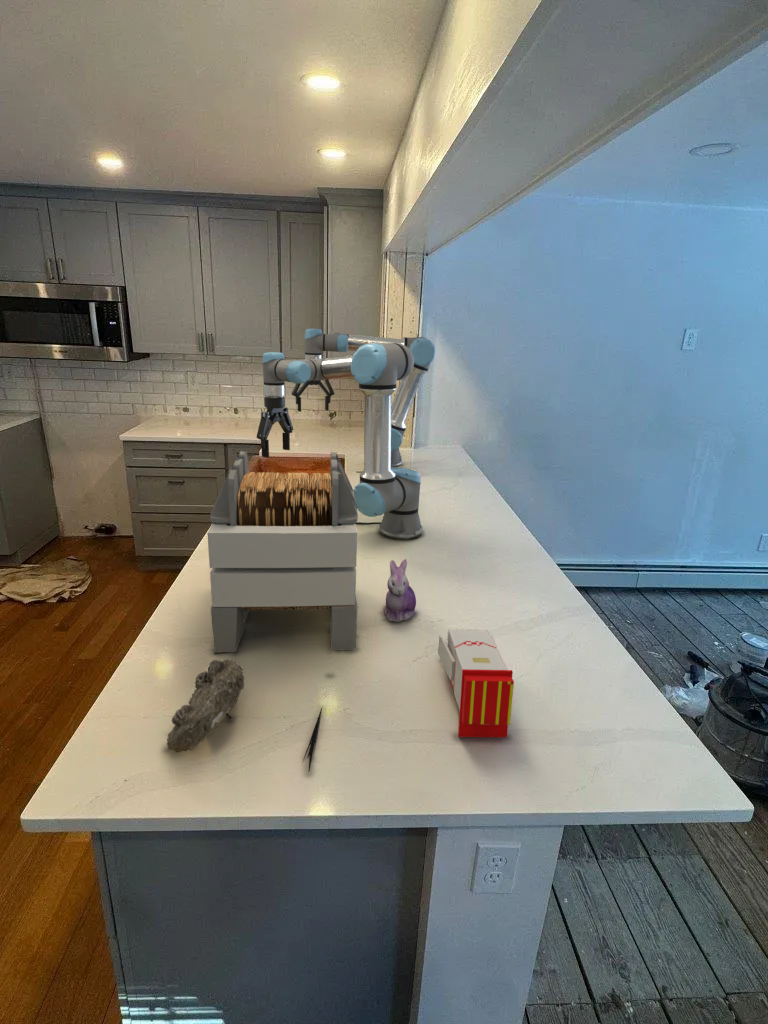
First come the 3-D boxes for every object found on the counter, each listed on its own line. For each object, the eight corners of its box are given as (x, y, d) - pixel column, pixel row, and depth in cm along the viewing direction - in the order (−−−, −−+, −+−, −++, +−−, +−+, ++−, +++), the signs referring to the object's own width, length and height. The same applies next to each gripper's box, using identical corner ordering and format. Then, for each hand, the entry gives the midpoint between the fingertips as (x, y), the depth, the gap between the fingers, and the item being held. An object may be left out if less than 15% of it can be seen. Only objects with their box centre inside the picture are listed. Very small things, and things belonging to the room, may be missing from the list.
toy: (488, 613, 130) (523, 677, 101) (484, 667, 133) (517, 744, 104) (435, 612, 130) (455, 676, 101) (432, 666, 133) (451, 743, 103)
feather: (331, 679, 122) (336, 673, 122) (307, 777, 96) (313, 769, 95) (324, 675, 122) (329, 669, 121) (298, 772, 95) (304, 764, 95)
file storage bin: (232, 584, 158) (225, 442, 144) (349, 583, 162) (353, 444, 148) (211, 655, 127) (198, 480, 113) (357, 651, 130) (362, 482, 117)
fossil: (192, 660, 117) (244, 628, 112) (224, 691, 120) (276, 661, 115) (142, 746, 98) (202, 712, 93) (182, 779, 101) (242, 748, 96)
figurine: (392, 627, 141) (395, 572, 136) (374, 608, 149) (376, 556, 144) (425, 619, 145) (429, 566, 140) (405, 601, 154) (408, 550, 149)
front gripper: (285, 391, 219) (286, 445, 226) (244, 399, 197) (247, 458, 204) (301, 393, 216) (302, 448, 223) (262, 401, 194) (264, 461, 201)
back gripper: (289, 365, 250) (290, 413, 257) (341, 364, 261) (340, 411, 268) (284, 363, 256) (285, 410, 264) (335, 363, 267) (335, 408, 274)
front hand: (276, 453), depth 214 cm, fingers open, 13 cm apart
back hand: (313, 410), depth 266 cm, fingers open, 13 cm apart
